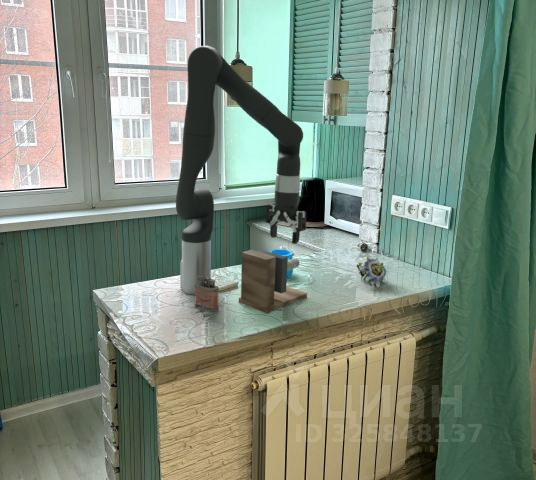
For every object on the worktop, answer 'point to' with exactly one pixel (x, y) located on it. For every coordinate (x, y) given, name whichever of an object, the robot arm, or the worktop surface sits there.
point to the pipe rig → (265, 283)
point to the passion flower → (372, 271)
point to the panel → (279, 271)
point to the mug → (286, 254)
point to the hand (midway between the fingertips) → (284, 240)
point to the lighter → (206, 295)
